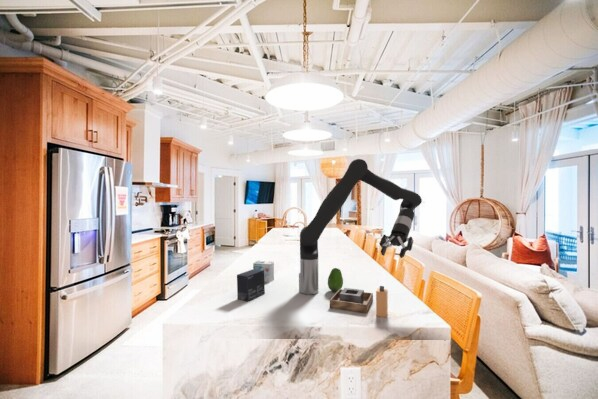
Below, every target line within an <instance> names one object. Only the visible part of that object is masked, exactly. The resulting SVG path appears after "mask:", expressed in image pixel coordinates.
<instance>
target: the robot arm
mask: <svg viewBox="0 0 598 399" xmlns="http://www.w3.org/2000/svg"><path fill="white" fill-rule="evenodd" d="M368 167H369V166H368V164H367V162H366V160H364V159H363V158H357V159H353V160H352V161H351V162H350V164H349V165H348V168H347V170H346V171H345V173H344V174H343V176H342V177H341V179H340V180H339V181H338V182H337V183H336V185H335V186H334V187H333V188H332V189H331V190H330V191H329V192H328V194H327V195H326V197H324V200H323V201H322V202H321V204H320V206H319V207H318V210H317V211H316V214H315V216H314V217H313V219H312V220H311V221H310V223H308V225H307V226H305V227H303V228H302V229H301V230H300V232H299V233H300V234H299V262H300V263H299V265H300V268H299V269H300V271H299V273H298V292H299V293H301V294H304V295H315V294H317V293H319V244H318V241H319V240H320V237H321V235H322V234H323V232H324V231H325V228H326V227H327V225H329V223H330V222H332V220H333V218H334V217H336V216H337V214H338V212H340V209H341V208H342V207H343V206H344V204H345V203H346V201H347V200H348V198H349V196H350V194H351V192H352V190H353V189H354V187H355V186H356V185H357V184H358V182H359V181H361V182H363V183H366V184H368V185H369V186H370V187H372V188H375V189H376V190H378V191H379V192H381V193H383V195H386V196H387V197H389V198H390V199H392V200H394V201H399V200H402V201H401V203H400V206H399V213H398V215H397V217H396V219H395V221H394V223H393V227H392V228H391V232H390V235H386V234H383V236H382V237H381V239H380V241H379V246H380V247H381V250H380V254H381V256H385V254H386V252H387V249H388V248H391V247H392V246H393V247H400V246H401V247H402V248H401V249H400V252H399V258H400V259H402V258H404V257H405V256H406V252H407V251H409V252H411V251H412V248H413V244H414V239H413V236H409V234H410V232H411V228H412V224H413V221H414V218H415V211H414V210H415V209H416V208H417V207H419V206H420V205H421V204H422V201H423V200H422V197H421V196H420V195H419V194H418V193H417V192H415V191H413V190H409V189H407V188H404V187H401V186H399V185H397V184H396V183H394V182H392V181H391V180H389V179H386V178H384V177H382V176H380V175H378V174H376V173H374V172H373V171H371V170H370V169H369V168H368ZM406 242H407V244H406V245H405V243H406Z"/></svg>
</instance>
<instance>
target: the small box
mask: <svg viewBox="0 0 598 399" xmlns="http://www.w3.org/2000/svg"><path fill="white" fill-rule="evenodd" d="M265 286H266V285H265V282H264V270H258V269H253V268H252V269H249V270H247V271H244V272H240V273H238V274H236V288H237V295H236V296H237V300H240V301H244V302H250V301H252V300H254V299H256V298H258V297H260V296H262V295H265V291H266V290H265Z"/></svg>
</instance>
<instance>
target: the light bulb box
mask: <svg viewBox="0 0 598 399" xmlns="http://www.w3.org/2000/svg"><path fill="white" fill-rule="evenodd" d="M252 265H253V266H252V267H253V268H252V270H253V269H258V270H264V283H268V284H269V283H271V282H273V281H274V280H275V261H271V260H269V261H267V260H257V261H254V262H253V263H252Z"/></svg>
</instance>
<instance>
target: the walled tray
mask: <svg viewBox="0 0 598 399" xmlns="http://www.w3.org/2000/svg"><path fill="white" fill-rule="evenodd" d="M373 302H374V293H373V292H365V289H358V288H350V287H344V288H343V289H342V288H341V289H339V290H338V291H336V292H335V293H334V295H333V296H332V297H331V298H330V299H329V308H330V309H334V308H335V309H336V310H340V309H341V310H342V311H347V310H348V312H355V313H361V314H368V311H369V309H370V307H371V305H372V304H373ZM335 309H334V310H335ZM341 310H340V311H341Z"/></svg>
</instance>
